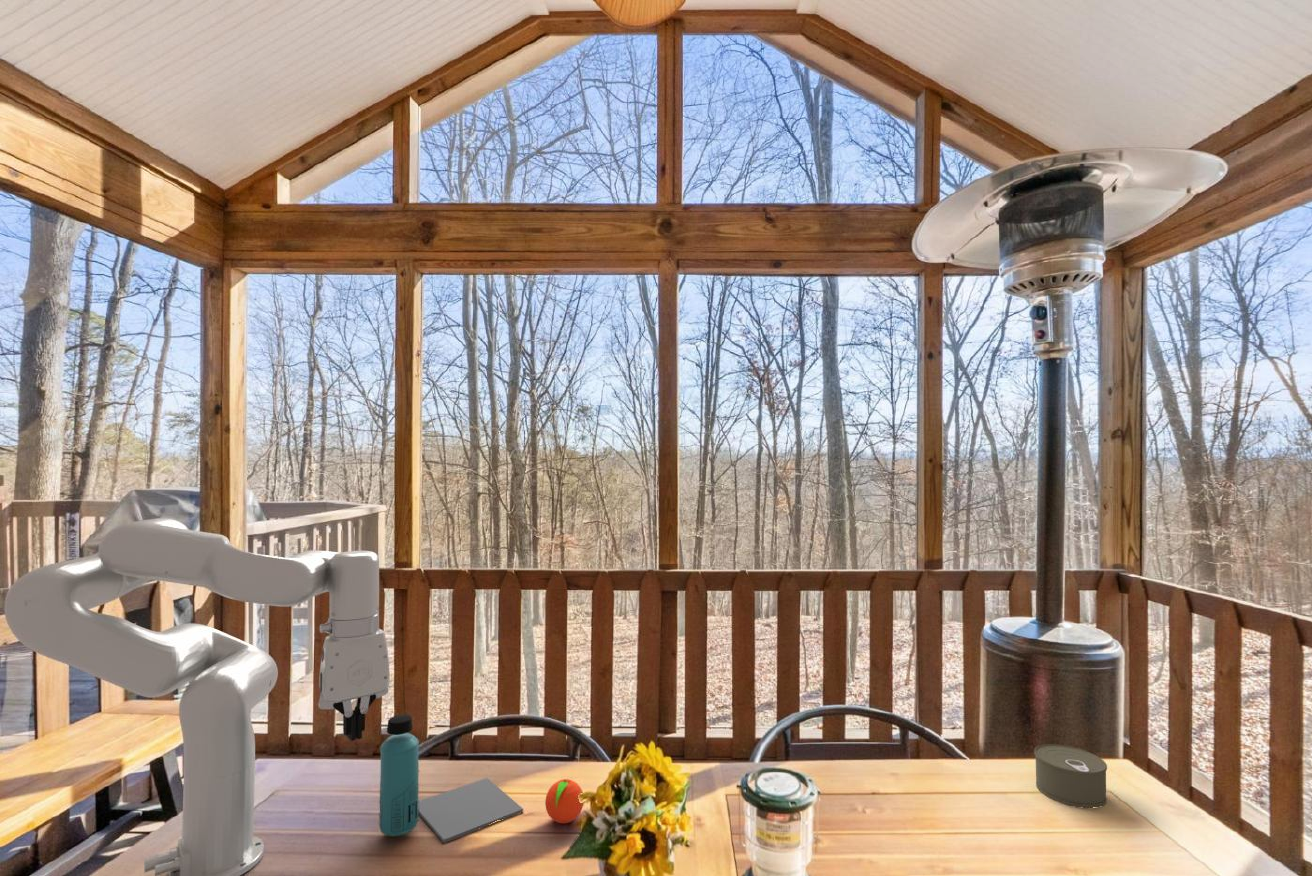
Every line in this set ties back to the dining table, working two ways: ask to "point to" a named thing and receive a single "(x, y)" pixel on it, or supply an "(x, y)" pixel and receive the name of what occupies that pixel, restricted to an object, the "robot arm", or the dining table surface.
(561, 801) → the clementine
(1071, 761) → the can
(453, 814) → the mat
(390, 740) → the beverage bottle
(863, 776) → the dining table surface
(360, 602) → the robot arm
